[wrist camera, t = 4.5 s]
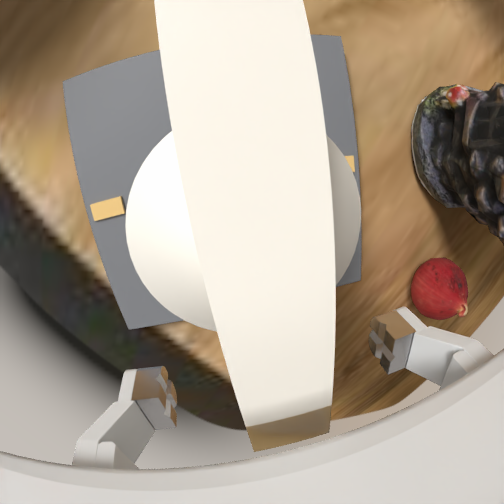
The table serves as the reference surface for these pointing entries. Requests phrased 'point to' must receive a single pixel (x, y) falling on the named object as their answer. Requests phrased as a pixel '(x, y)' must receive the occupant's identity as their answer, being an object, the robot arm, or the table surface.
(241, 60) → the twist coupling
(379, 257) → the table surface
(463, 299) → the onion
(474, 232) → the table surface
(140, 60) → the lock base
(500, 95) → the pineapple fairy house
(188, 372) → the table surface
